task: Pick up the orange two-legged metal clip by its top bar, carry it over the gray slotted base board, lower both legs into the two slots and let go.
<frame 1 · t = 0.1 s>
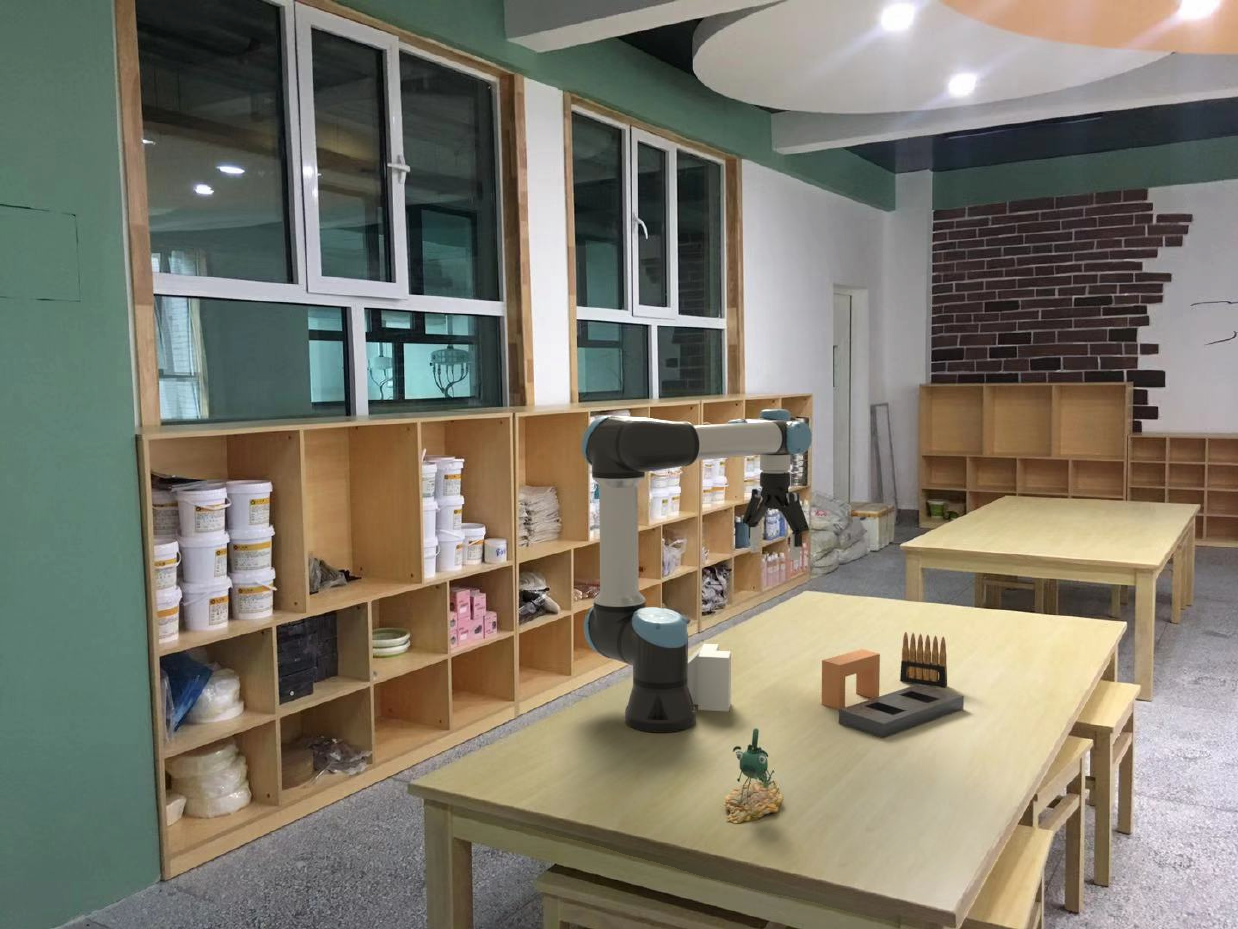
hand: (774, 556, 261), 28 cm above the table, fingers open, 13 cm apart
clip: (850, 700, 236), on the table
gray slotted base board: (902, 716, 225), on the table
corner bracket: (705, 703, 235), on the table
ammunition clip: (923, 684, 248), on the table
green creature figurine: (756, 806, 180), on the table
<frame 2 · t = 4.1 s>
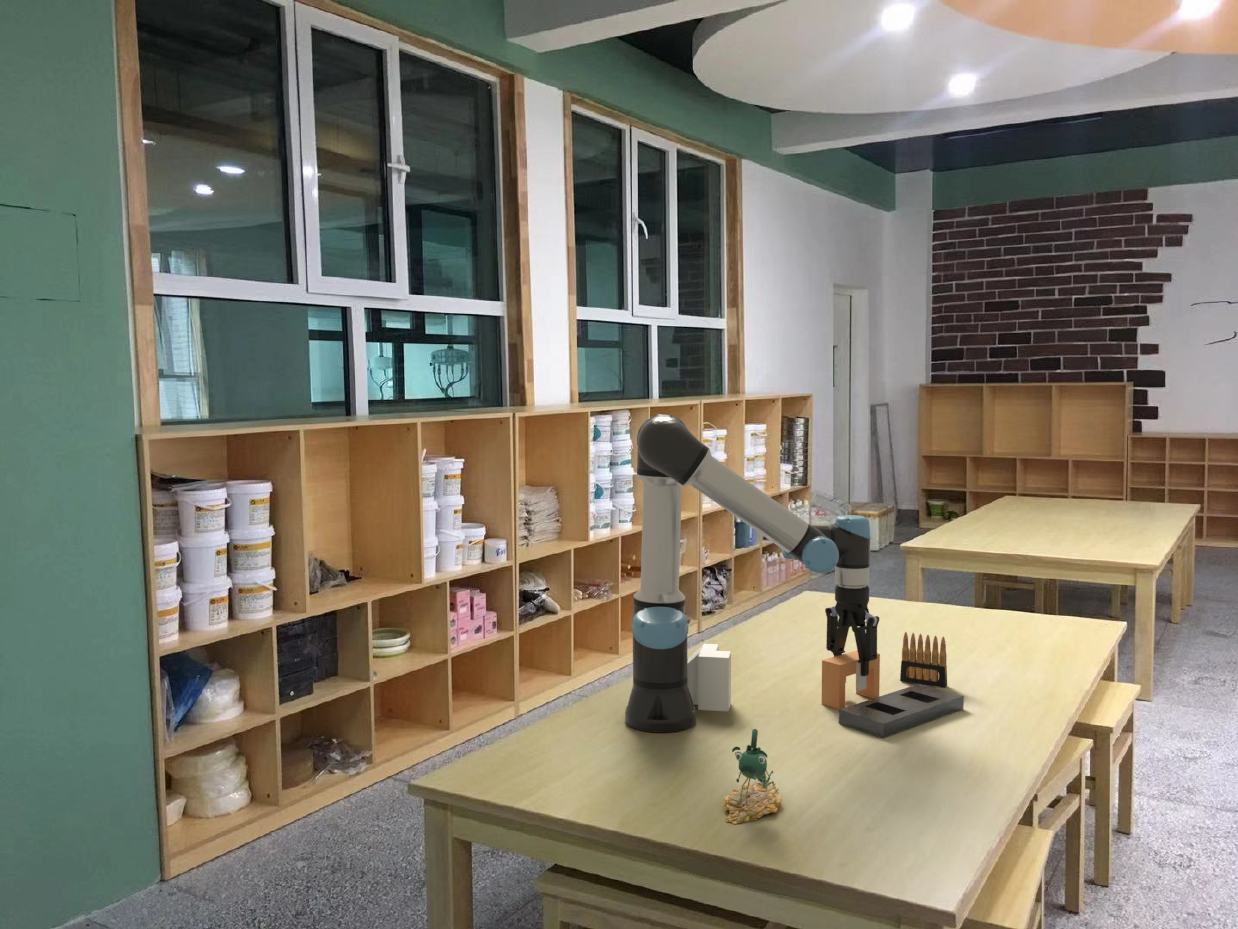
hand: (850, 686, 235), 3 cm above the table, fingers closed on clip, 5 cm apart
clip: (850, 700, 236), on the table, touching gripper
everything else where it was.
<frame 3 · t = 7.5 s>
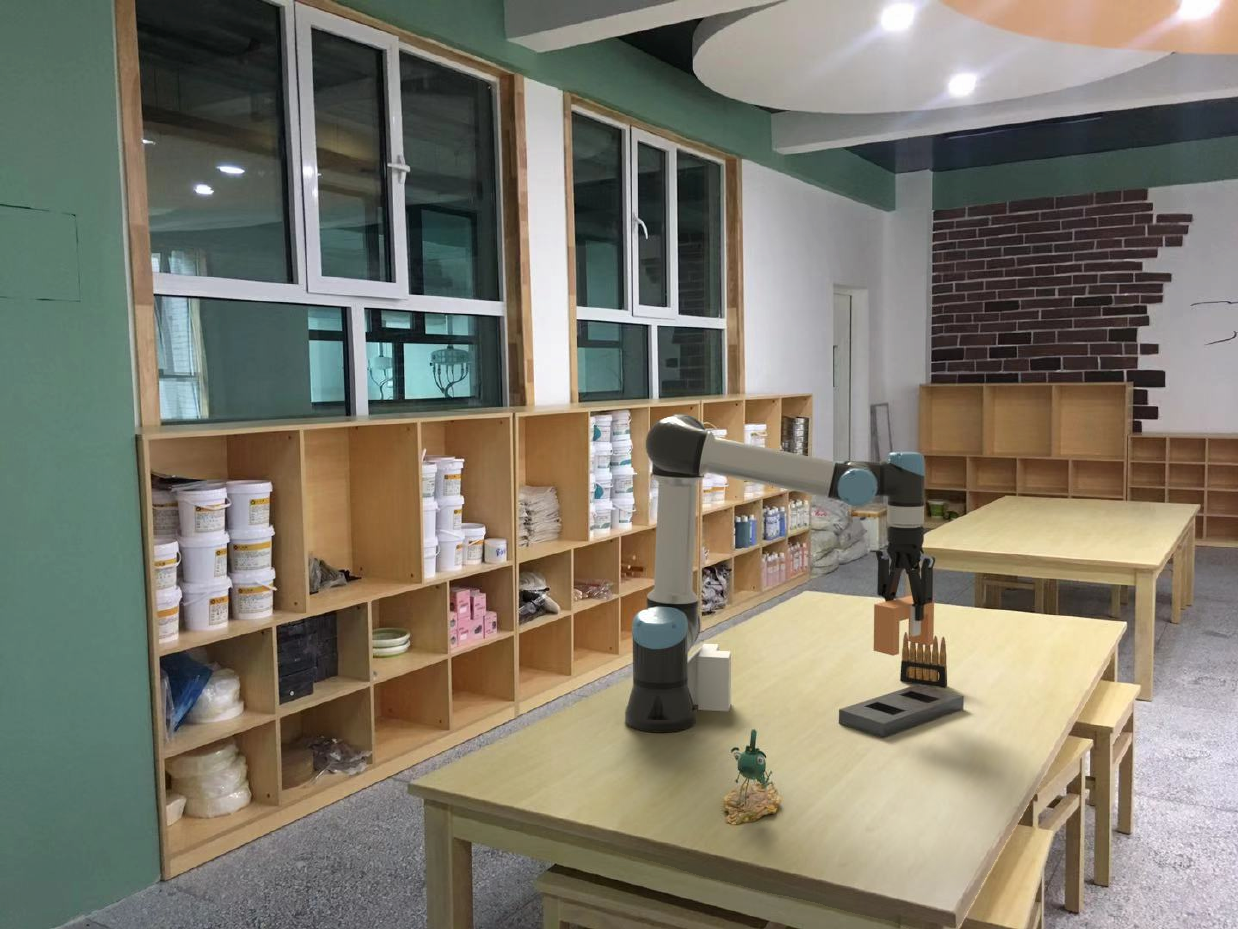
hand: (903, 632, 223), 18 cm above the table, fingers closed on clip, 5 cm apart
clip: (903, 647, 223), point 15 cm above the table, touching gripper
everything else where it was.
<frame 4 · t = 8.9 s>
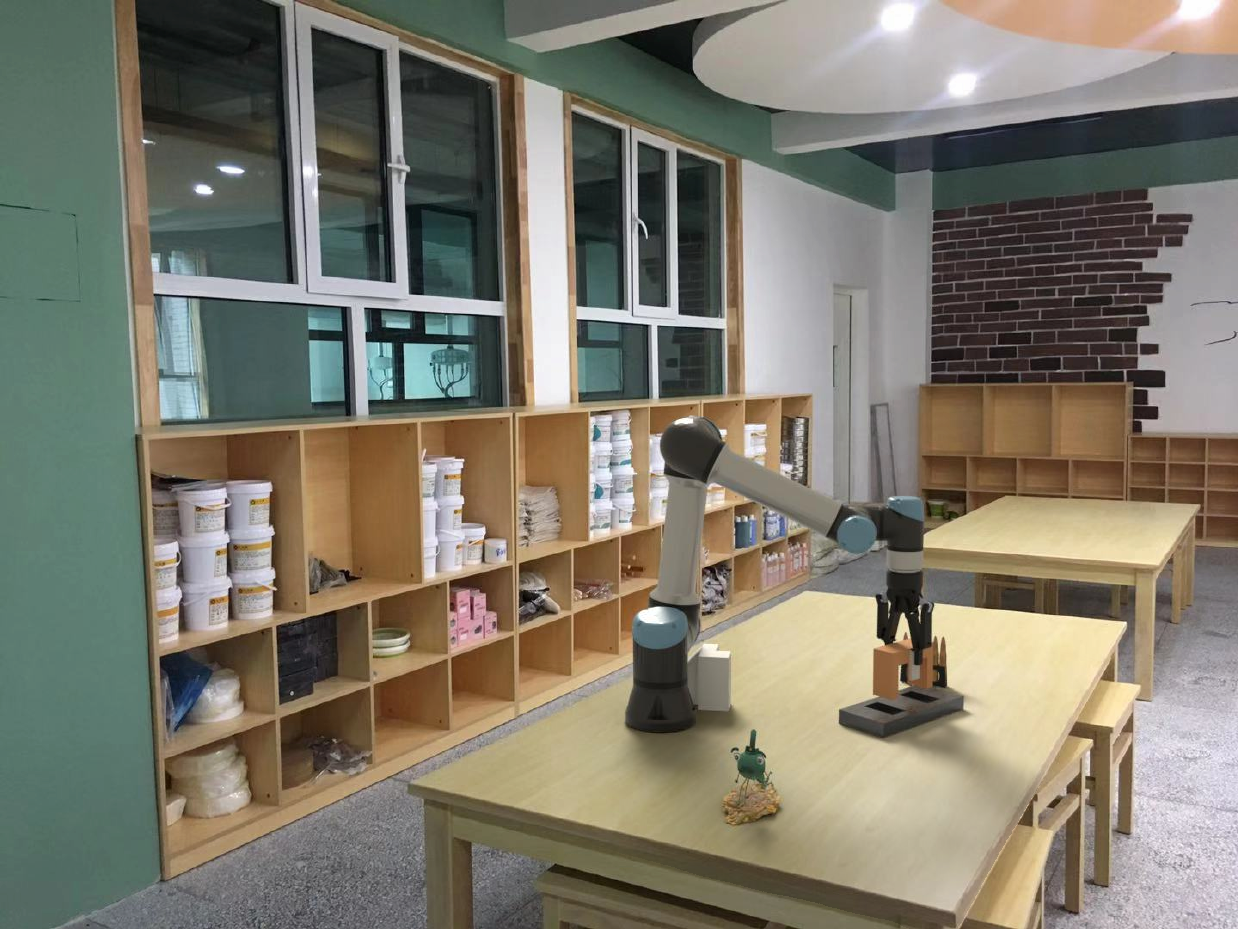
hand: (903, 676, 224), 9 cm above the table, fingers closed on clip, 5 cm apart
clip: (902, 690, 224), point 6 cm above the table, touching gripper
everything else where it was.
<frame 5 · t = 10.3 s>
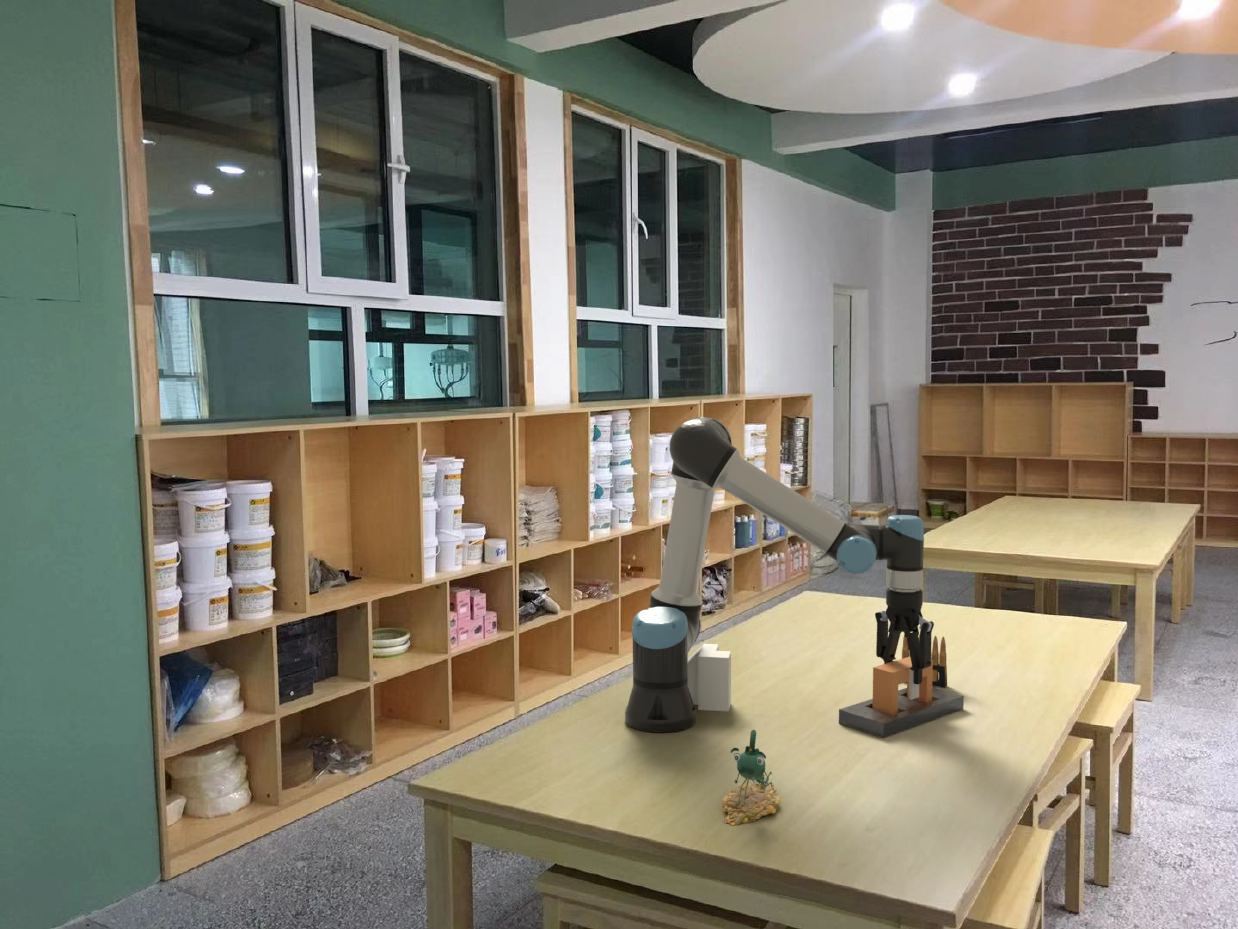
hand: (902, 694, 224), 5 cm above the table, fingers closed on clip, 5 cm apart
clip: (902, 709, 225), point 1 cm above the table, touching gripper
everything else where it was.
when the fingers open (5 cm above the table, at t = 11.1 s): clip drops 1 cm, on the table.
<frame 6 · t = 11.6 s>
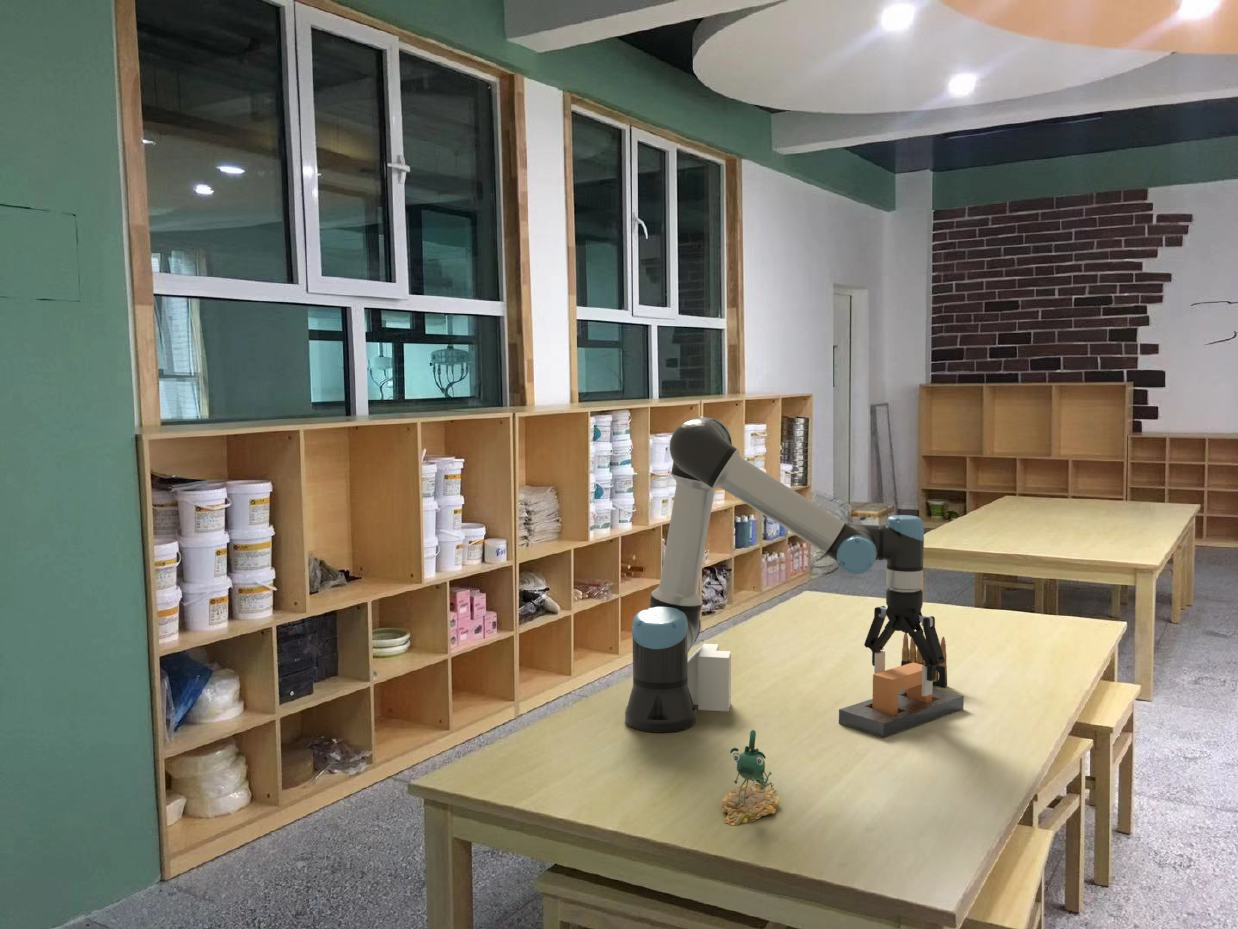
hand: (902, 688, 224), 6 cm above the table, fingers open, 11 cm apart
clip: (902, 716, 225), on the table
everything else where it was.
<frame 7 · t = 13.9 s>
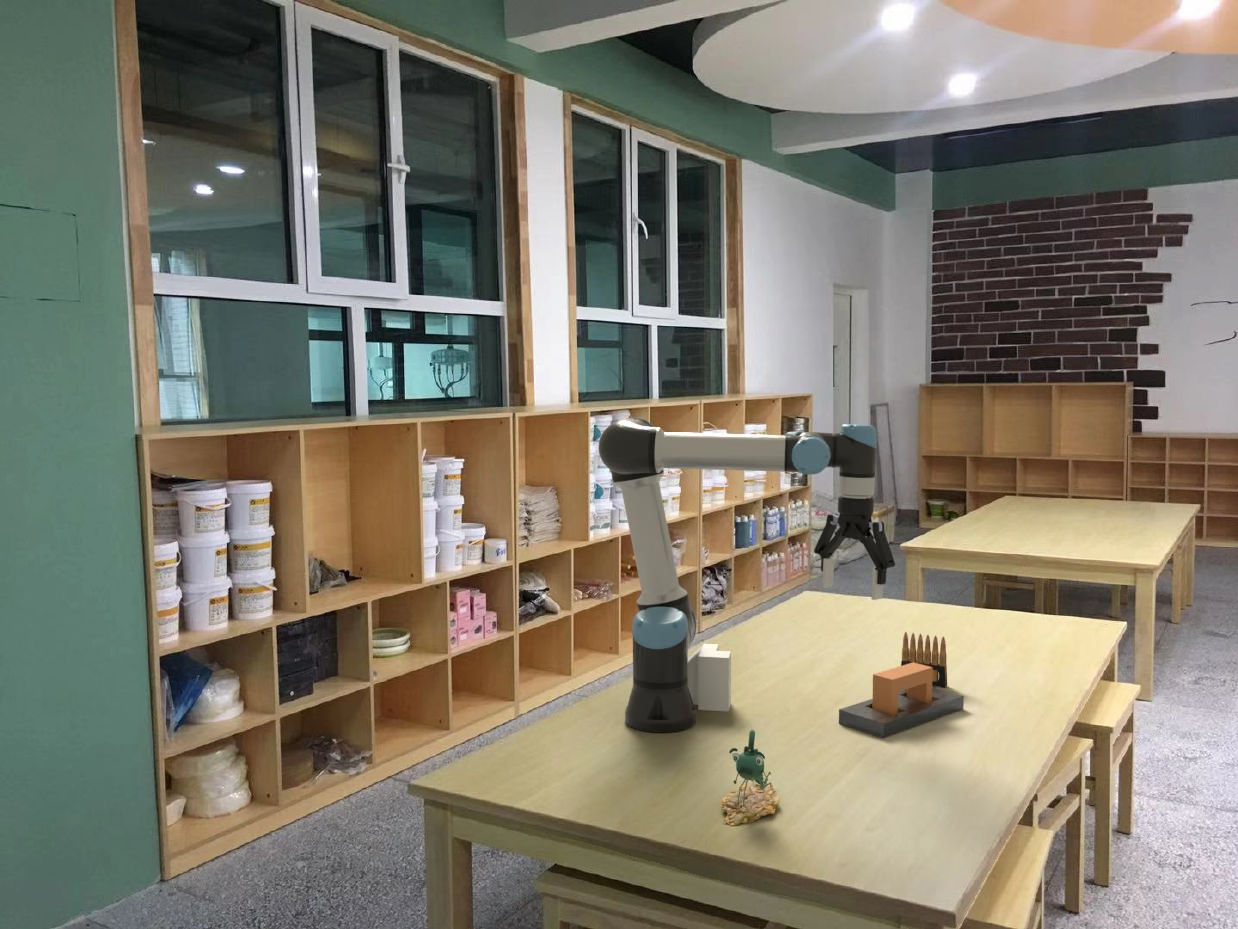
hand: (851, 593, 227), 26 cm above the table, fingers open, 13 cm apart
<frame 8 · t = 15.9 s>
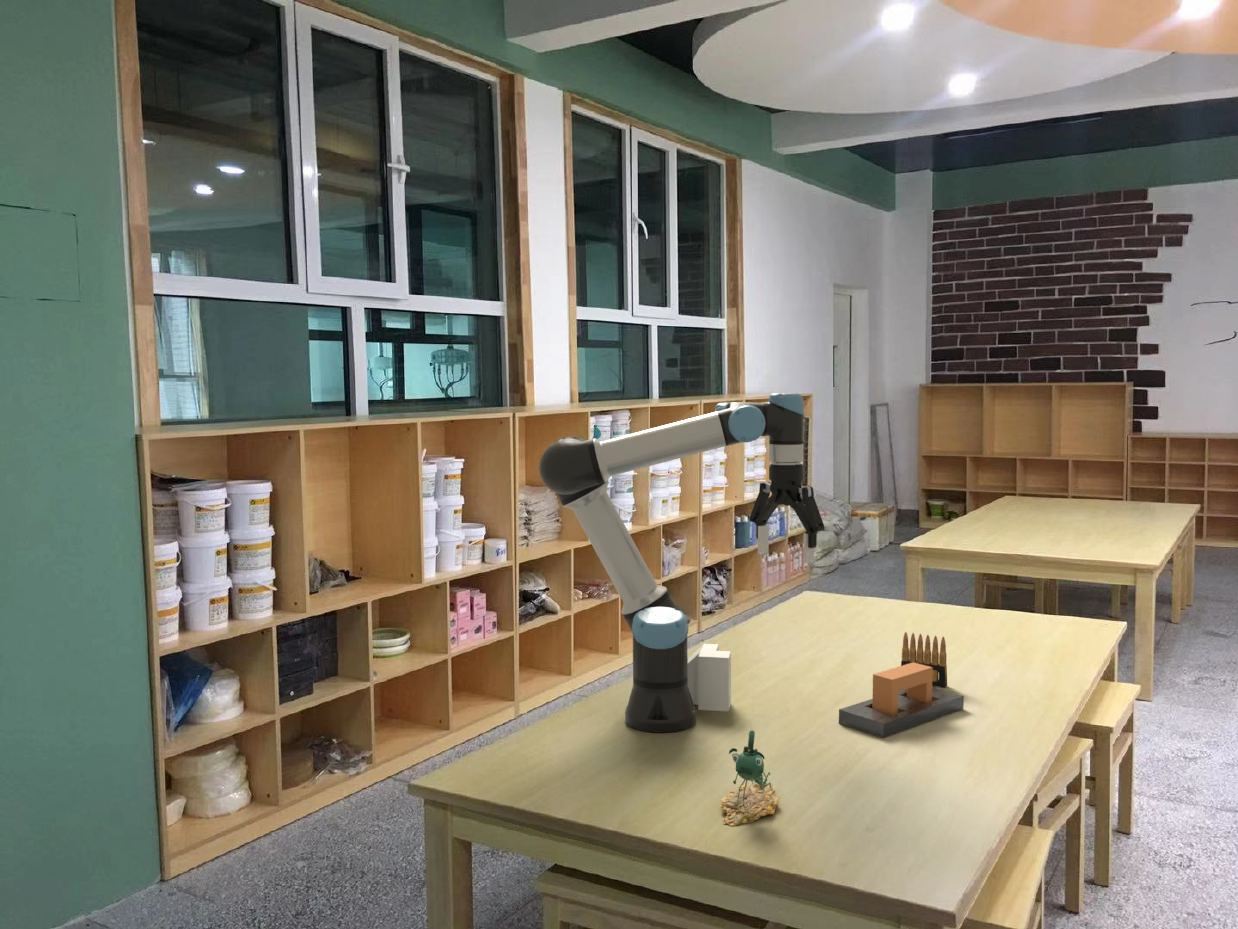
hand: (785, 558, 232), 33 cm above the table, fingers open, 13 cm apart
at the end: clip 0.0 cm off-centre on the gray slotted base board, point 0.0 cm above the gray slotted base board's base; clip tilted 0°; the gripper is holding nothing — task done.
